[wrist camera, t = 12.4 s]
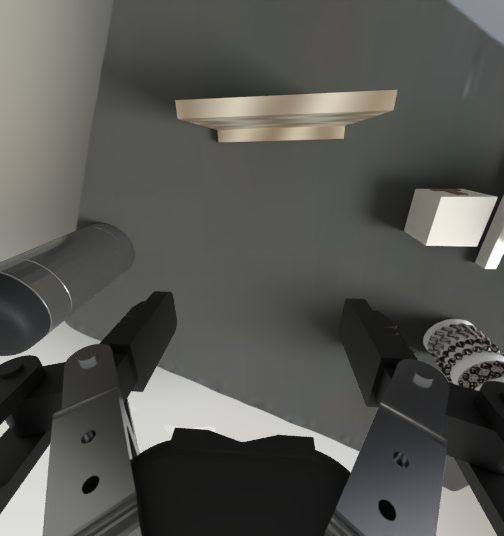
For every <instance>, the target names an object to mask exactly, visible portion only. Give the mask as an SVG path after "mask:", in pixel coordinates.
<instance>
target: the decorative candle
mask: <svg viewBox="0 0 504 536" xmlns="http://www.w3.org/2000/svg"><path fill="white" fill-rule="evenodd" d="M423 344H424V346H425V348H426V350H427V351H428V352H430V353H432V354H431V357H432V358H433V359H436V360H437V361H436V362H435V363H436V364H437V365H439V367H440V368H441V369H442V372H443V373H444V374H445V376H447V379H448V381H450V382H453V383H454V384H456V385H460V386H463V387H467V388H470V389H474V390H477V391H479V390H480V388H481V386H482V385H483V383H485V382H487V381H498V382H503V383H504V352H501V351H500V349H498V346H497V345H494V344H492V342H491V341H490V340H489V338H488V337H487V336H485V335H483V334H482V332H481V331H480V330H479V329H476V327H474V325H473V324H471V323H470V322H468V321H467V320H462V319H457V318H456V319H447V320H444V321H441V322H439V323H436V324H435V325H433V326H432V327H431V328H429V329H428V330H427V332H426V333H425V335H424V337H423Z"/></svg>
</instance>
